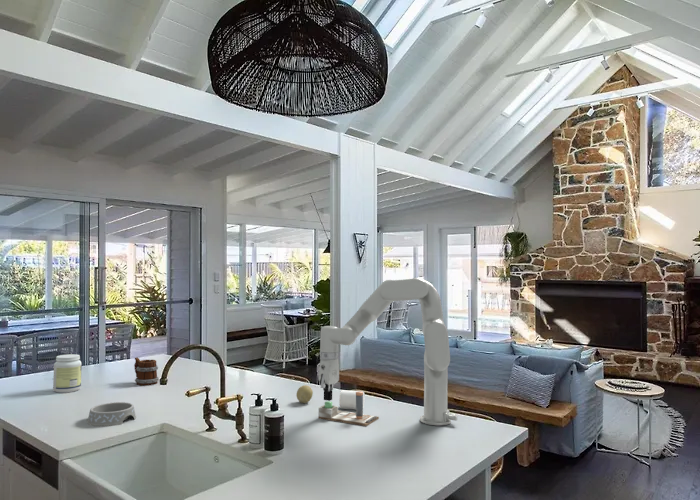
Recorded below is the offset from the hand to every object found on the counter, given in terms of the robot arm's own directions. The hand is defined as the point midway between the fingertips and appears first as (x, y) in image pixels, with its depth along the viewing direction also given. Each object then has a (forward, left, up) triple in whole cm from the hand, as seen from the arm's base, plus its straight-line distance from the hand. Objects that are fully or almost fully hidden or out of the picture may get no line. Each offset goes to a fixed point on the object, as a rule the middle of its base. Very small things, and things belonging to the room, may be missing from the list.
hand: (327, 399), depth 220 cm
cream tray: (-8, -3, -7) cm, 11 cm away
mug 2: (-2, -19, -8) cm, 21 cm away
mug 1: (+115, -7, -8) cm, 115 cm away
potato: (+21, -15, -8) cm, 27 cm away
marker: (-13, -3, -6) cm, 15 cm away
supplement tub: (+135, +23, -8) cm, 137 cm away
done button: (0, 0, -4) cm, 4 cm away
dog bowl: (+75, +45, -8) cm, 88 cm away
